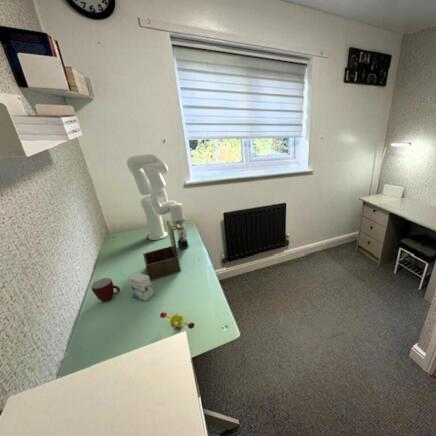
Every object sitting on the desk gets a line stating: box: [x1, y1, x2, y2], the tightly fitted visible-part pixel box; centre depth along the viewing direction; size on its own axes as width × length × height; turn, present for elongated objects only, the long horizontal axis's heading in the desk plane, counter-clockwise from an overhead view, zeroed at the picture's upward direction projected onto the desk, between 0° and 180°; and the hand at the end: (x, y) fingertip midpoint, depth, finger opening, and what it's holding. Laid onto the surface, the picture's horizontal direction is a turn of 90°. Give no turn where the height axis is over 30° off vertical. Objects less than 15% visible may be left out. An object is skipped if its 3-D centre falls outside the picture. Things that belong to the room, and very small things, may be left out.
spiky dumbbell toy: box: [159, 311, 195, 330], centre depth 101 cm, size 18×6×7 cm, turn 69°
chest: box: [142, 245, 181, 282], centre depth 139 cm, size 16×15×10 cm
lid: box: [166, 220, 180, 257], centre depth 139 cm, size 17×15×5 cm
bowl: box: [176, 238, 190, 250], centre depth 164 cm, size 7×7×4 cm
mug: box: [90, 277, 121, 303], centre depth 116 cm, size 10×8×10 cm
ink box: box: [128, 272, 154, 301], centre depth 118 cm, size 9×5×12 cm, turn 71°
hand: (183, 243), depth 164 cm, fingers open, 9 cm apart
